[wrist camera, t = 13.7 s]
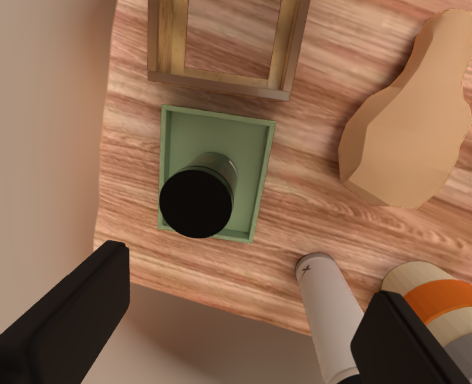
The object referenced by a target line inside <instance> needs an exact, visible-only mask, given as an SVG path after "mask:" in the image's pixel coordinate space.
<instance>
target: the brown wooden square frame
mask: <svg viewBox="0 0 472 384" xmlns="http://www.w3.org/2000/svg"><path fill="white" fill-rule="evenodd" d="M188 1H189V0H148V58H147V70H148V81H153V82H158V83H161V84H164V85H169V86H176V87H182V88H189V89H196V90H202V91H209V92H216V93H222V94H229V95H235V96H242V97H249V98H255V99H262V100H269V101H275V102H285V101H286V102H288V101H289V98H290V93H291V91H292V86H293V81H294V76H295V71H296V66H297V62H298V57H299V52H300V47H301V42H302V37H303V33H304V28H305V23H306V18H307V13H308V8H309V4H310V0H282V1H281V7H280V13H279V18H278V24H277V30H276V36H275V42H274V48H273V53H272V59H271V65H270V71H269V77H268V80H267V79H261V78H254V77H247V76H240V75H234V74H227V73H220V72H214V71H207V70H200V69H193V68H187V67H185V51H186V34H187V17H188Z"/></svg>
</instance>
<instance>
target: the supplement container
mask: <svg viewBox="0 0 472 384" xmlns="http://www.w3.org/2000/svg"><path fill="white" fill-rule="evenodd" d="M237 184H238V172H237V169H236V166H235V165H234V163H233V162H232V161H231V160H230V159H229V158H228V157H227V156H225V155H223V154H221V153H217V152H206V153H203V154H201V155H199V156H197V157H196V158H195V159H194V160H192V161H191V162H190V163H188V164H187V165H186V166H185V167H183V168H182V169H180V170H179V171H177V172H176V173H175V174H174V175H173V176H171V177H170V178H169V179H168V180H167V181H166V182H165V184H164V185H163V187H162V189H161V191H160V195H159V207H160V211H161V214H162V216H163V218H164V220H165V221H166V222H167V224H168V225H169V226H170V227H171V228H172V229H173V230H175V231H176V232H178V233H180V234H182V235H184V236H187V237H190V238H207V237H211V236H213V235H215V234H217V233H219V232H220V231H221V230H222V229H223V228H224V227H225V226H226V225H227V223H228V222H229V220H230V217H231V214H232V210H233V206H234V198H235V193H236V189H237Z"/></svg>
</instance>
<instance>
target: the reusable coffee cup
mask: <svg viewBox="0 0 472 384" xmlns="http://www.w3.org/2000/svg"><path fill="white" fill-rule="evenodd" d="M381 290H386V291H392V292H397V293H399V294H401V295H402V296H403V297H404V299H405V300H406V301H407V303H408V304H409V305H410V306H411V308H412V309H413V310H414V311H415V313H416V314H417V315H418V316H419V318H420V319H421V320H422V322H423V323H424V324H425V325H426V327H427V328H428V329H429V330H430V332H431V333H432V334H433V336H434V337H435V338H436V339H437V341H438V342H439V343H440V344H441V346H442V347H443V348H444V350H445V351H446V352H447V353H448V355H449V356H450V357H451V358H452V360H453V361H454V362H455V364H456V365H457V366H458V367H459V369H460V370H461V371H462V372H463V374H464V375H465V376H466V378H467V379H468V380H469V381H470V383H471V384H472V285H471V284H469V283H466V282H464V281H460V280H457V279H455V278H454V277H452V276H451V275H449V274H448V273H446V272H445V271H443V270H441V269H440V268H438V267H437V266H435V265H433V264H431V263H428V262H423V261H413V262H408V263H404V264H402V265H400V266H397V267H396V268H394V269H393V270H391V271H390V272H389V273H388V274H387V276H386V277H385V278H384V280H383V282H382V287H381Z"/></svg>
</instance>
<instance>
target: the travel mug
mask: <svg viewBox="0 0 472 384" xmlns="http://www.w3.org/2000/svg"><path fill="white" fill-rule="evenodd" d="M295 274H296V278H297V281H298V285H299V289H300V293H301V297H302V300H303V304H304V308H305V312H306V316H307V319H308V323H309V327H310V331H311V335H312V338H313V342H314V346H315V350H316V353H317V357H318V361H319V365H320V369H321V373H322V376H323V380H324V384H363V382H362V379H361V377H360V374H359V372H358V369H357V367H356V364H355V362H354V359H353V357H352V354H351V350H350V343H351V340H352V338H353V336H354V334H355V332H356V330H357V328H358V326H359V324H360V322H361V320H362V318H363V316H364V313H363V311H362V310H361V308H360V306H359V304H358V302H357V301H356V299H355V297H354V295H353V293H352V291H351V290H350V288H349V286H348V284H347V282H346V281H345V279H344V277H343V275H342V273H341V272H340V270H339V268H338V266H337V264H336V262H335V261H334V260H333V259H332V258H331V257H330V256H328V255H325V254H322V253H313V254H309V255H307V256H305V257H303V258H302V259H301V260H300V261H299V262H298V263H297V265H296V269H295Z"/></svg>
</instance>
